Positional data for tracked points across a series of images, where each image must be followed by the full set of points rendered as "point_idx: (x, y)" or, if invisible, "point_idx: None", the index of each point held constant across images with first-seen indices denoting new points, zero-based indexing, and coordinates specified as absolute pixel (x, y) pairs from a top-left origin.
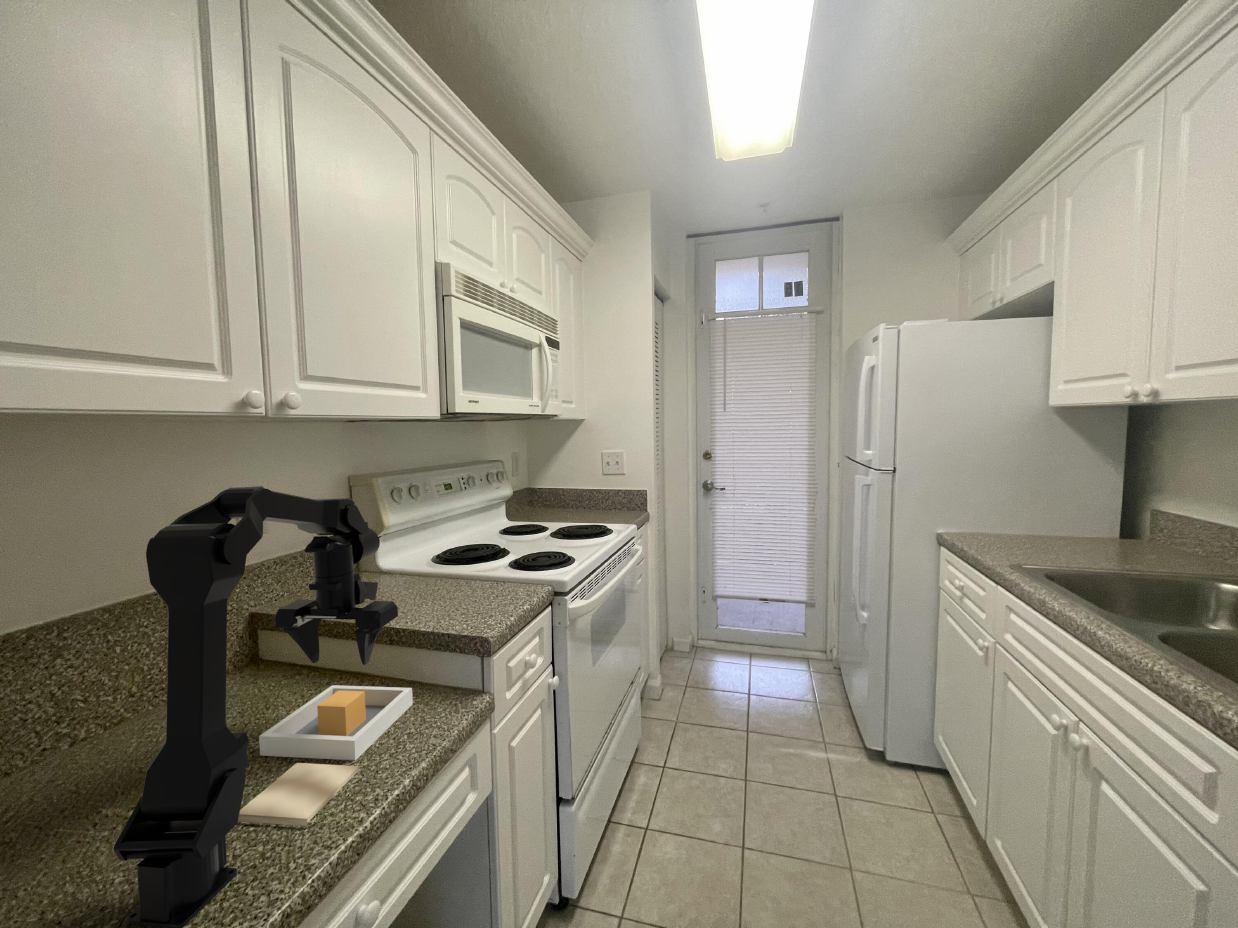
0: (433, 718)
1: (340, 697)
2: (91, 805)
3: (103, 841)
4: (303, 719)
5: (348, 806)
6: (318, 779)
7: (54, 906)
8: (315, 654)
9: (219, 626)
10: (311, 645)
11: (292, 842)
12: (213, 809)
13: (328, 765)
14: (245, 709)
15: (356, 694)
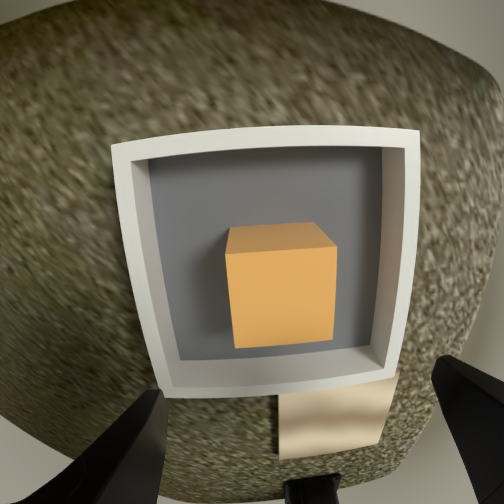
0: (456, 182)
1: (274, 296)
2: (66, 431)
3: None
4: (158, 284)
5: (406, 404)
6: (350, 406)
7: (206, 499)
8: (157, 433)
9: None
10: (145, 492)
11: (369, 446)
12: None
13: None
14: None
15: (320, 270)
